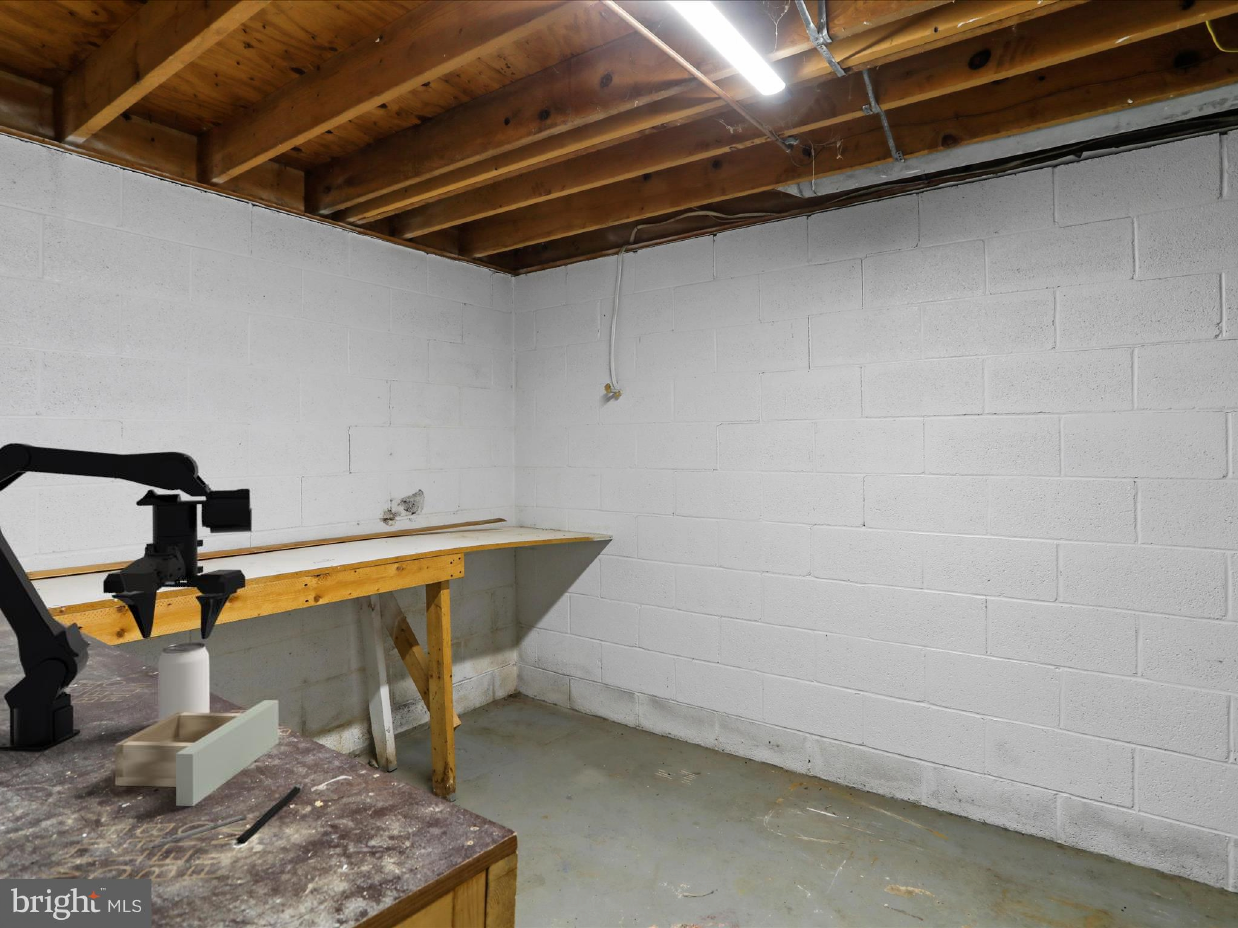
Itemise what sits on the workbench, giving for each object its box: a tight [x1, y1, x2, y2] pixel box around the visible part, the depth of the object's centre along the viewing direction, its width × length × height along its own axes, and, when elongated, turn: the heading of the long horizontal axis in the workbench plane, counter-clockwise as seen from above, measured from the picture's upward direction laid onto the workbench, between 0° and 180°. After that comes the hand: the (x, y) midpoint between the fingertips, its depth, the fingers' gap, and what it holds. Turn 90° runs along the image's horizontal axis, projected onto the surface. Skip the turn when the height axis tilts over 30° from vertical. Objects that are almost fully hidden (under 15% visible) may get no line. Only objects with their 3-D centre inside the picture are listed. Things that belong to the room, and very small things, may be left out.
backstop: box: [175, 699, 280, 807], centre depth 89 cm, size 2×18×6 cm, turn 177°
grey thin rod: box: [152, 811, 248, 848], centre depth 75 cm, size 1×9×1 cm, turn 133°
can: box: [157, 641, 210, 723], centre depth 104 cm, size 6×6×12 cm
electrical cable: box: [235, 783, 304, 845], centre depth 78 cm, size 12×1×1 cm, turn 177°
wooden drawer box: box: [114, 712, 244, 788], centre depth 90 cm, size 11×11×5 cm
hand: (175, 638), depth 105 cm, fingers open, 9 cm apart
